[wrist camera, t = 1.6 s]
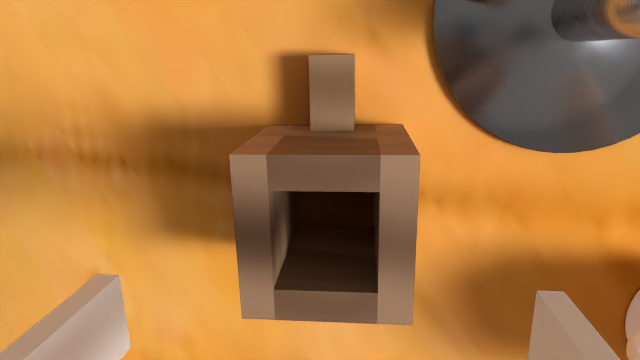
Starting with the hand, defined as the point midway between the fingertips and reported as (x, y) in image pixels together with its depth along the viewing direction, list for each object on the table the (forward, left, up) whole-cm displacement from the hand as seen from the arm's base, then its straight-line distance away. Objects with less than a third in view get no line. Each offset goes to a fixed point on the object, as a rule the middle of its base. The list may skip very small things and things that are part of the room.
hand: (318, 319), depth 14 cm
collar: (-1, +2, -14) cm, 14 cm away
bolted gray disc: (+11, +12, -14) cm, 21 cm away
